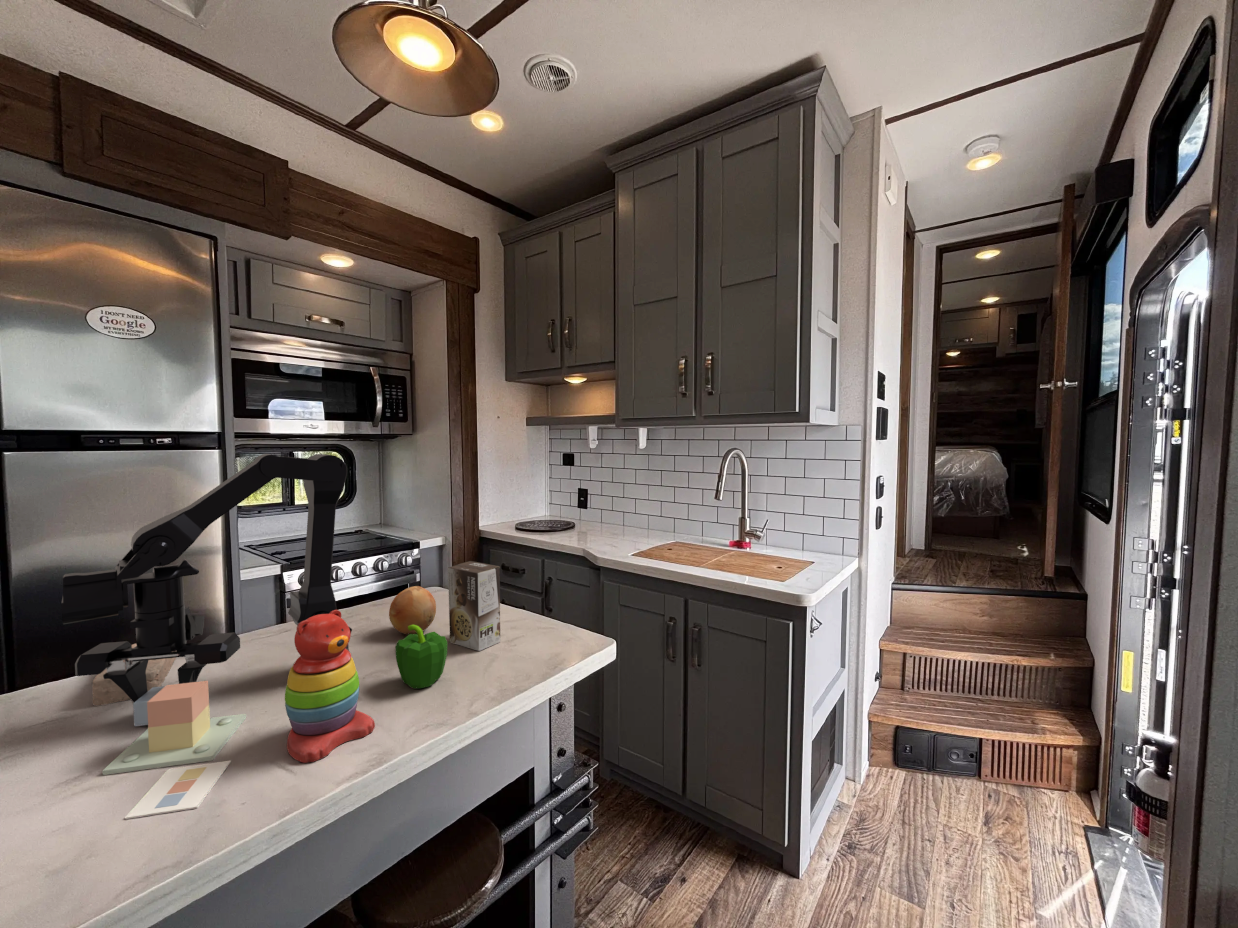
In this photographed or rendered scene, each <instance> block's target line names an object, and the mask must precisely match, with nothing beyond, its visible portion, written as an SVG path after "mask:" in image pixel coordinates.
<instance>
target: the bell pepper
mask: <svg viewBox="0 0 1238 928" xmlns="http://www.w3.org/2000/svg"><path fill="white" fill-rule="evenodd" d="M408 629H409V630H410V631H412V630H415V631H416V632H417V633H415V634H407V635H406V637H404V638H402V639H398V640H397V642H396V644H395V647H394V648H395V660H396V664H397V667H398V668H397V669H398V672H399V675H400V678H401V680H402V682H403V683H404V684H405V685H408V687H410V688H411V689H424V688H428V687H431V686H432V685H433V684H435V683H436V681H437V680H439V679H440V678H441V676H442V675H443V673H444V670H445V665H446V661H447V656H448V640H447V639H446V636H444V635H440V634H439V633H437V631H431V632H427V633H425V634H424V630H423V631H422V629H421V628H420V627H419V626H417V625H410V626H408Z"/></svg>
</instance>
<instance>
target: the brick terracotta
mask: <svg viewBox="0 0 1238 928" xmlns="http://www.w3.org/2000/svg"><path fill="white" fill-rule="evenodd" d="M164 686H165V687H164V688H163V689H162V690H161V691H159V692H158V693H157V694H156V695H155V696H154V697H153V698H151V699H150V700H149V701H148V702H147V711H148V725H147V729H148V728H149V727H157V726H165V725H173V724H181V723H189V722H193V721H194V720H195V719H196V718H197V717H198V716H199V714H200V713H201V712H202V711H203V710H204V709H205V708H206V707H207V706H208V705H209V706H210V697H209V695H210V694H209V680H202V681H196V682H191V683H182V684H179V683H175V684H166V685H164Z"/></svg>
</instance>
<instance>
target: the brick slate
mask: <svg viewBox="0 0 1238 928" xmlns="http://www.w3.org/2000/svg"><path fill="white" fill-rule="evenodd" d="M165 686H166V685H161V687H153V688H151V689H150V690H149V691H148V692H146V693H145V694H144V695H143V696H142V697H140V698H139V699H138V700H137V701H135V702H132V705H133V706H132V707H133V725H134V727H140V726H148V711H147V702H148V701H149V700H150V699H151V698H153V697H154V696H155V695H156V694H157V693H158V692H159V691H161V690H162V689H163V688H164V687H165Z"/></svg>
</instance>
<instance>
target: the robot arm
mask: <svg viewBox="0 0 1238 928" xmlns="http://www.w3.org/2000/svg"><path fill="white" fill-rule="evenodd" d="M347 476H348V465H347V463H346V462H345V461H343V459H342V458H340V457H339V456H337V455H332V454H325V453H324V454H323V453H316V454H315V453H314V454H313V455H311V456H309V457H308V458H304V457H292V456H283V455H282V456H281V455H277V454H270V453H263V454H262V453H261V454H260V455H258V456H257V457H255V459H254V460H253V461H252V462H251V463H249V464H248V465H246V466H244V467H243V468H242V469H240V470H239V471H238V472H236V473H234V474H233V475H231V476H230V477H229V478H227V479H226V480H224V481H223V482H222V483H220V484H219V485H217V486H216V487H214V488H213V489H211V490H210V491H208V492H206V493H205V494H204V495H202V496H201V497H200V498H198V499H197V500H195V501H193V502H192V503H190V505H188V506H186V507H184V508H181V509H179V510H177V511H174V512H171V513H169V514H166V515H165V516H162V517H161V518H158V519H156V520H154V521H152V522H150V523H148V524H146V525H144V526H142V527H140V528H139V529H138V530H137V531H135V533H133V536H131V537H132V538H131V542H130V546H131V548H130V549H129V551H127V553H126V554H125V555H124V556H123V557H122V559H120V560H118V563H117V564H116V565H115V567H114V568H113V569H107V570H106V569H104V570H96V571H91V572H71V573H65V574H64V575H62V599H61V603H60V605H61V608H60V609H61V619H62V620H61V621H62V624H63V625H68V624H73V623H74V624H75V623H80V622H86V621H90V620H97V619H104V618H109V617H115V616H119V612H120V611H124V608H127V607H129V590H128V585H132V584H133V597H134V600H133V601H134V619H132V620H131V621H129V628H130V630H131V629H132V630H133V629H135V634H136V635H135V639H136V644H137V646H136V647H134V648H132V645H133V644H132V643H131V642H130V641H127V640H125V641H124V640H123V641H116V642H113V641H112V642H101V643H99V644H98V645H95V646H94V647H92V648H90V649H88V650H87V651H85V652H83V653H82V654H80V655H79V656H78V657H77V659H76V661H75V663H74V672H75V673H74V674H75V676H77V677H82V676H83V677H84V676H93V675H95V676H97V675H98V674H100V673H102V672H103V671H104V670H105V669H106V668H107V673H106V674H104V675H103V678H104V679H111V680H112V681H113V682H114V683H115V684H117V685H118V686H119V687H120V688H121V689H122V690H123V691H124V692H125V693H126V694H127V695H128V696H129V698H130V699H131V701H132V703H134V702H135V701H137V700H138V699H139V698H140V697H142V696H143V695H144V694H145V693H146V692H148V691H147V681H146V668H147V664H148V660H154V659H166V658H176V659H177V658H184V660H185V662H184V664H182V665H181V666H179V667H178V668H177V679H178V684H182V683H191V682H198V681H197V680H198V678H199V676H200V674H201V672H202V670H203V668H205V667H206V666H207V665H211V664H212V665H213V664H221V663H224V662H227V661H228V660H229V659H231V657H232V656H234V654H235V653H236V652H238V651H239V650H240V649H241V638H240V636H239V635H238V634H237V633H236V632H223V633H222V632H221V633H212V634H209V635H208V636H206V637H205V638H204V639H203V640H202V641H201V642H190V643H189V642H188V641H192V640H194V638H196V637H198V636H203V634H204V632H203V631H204V626H205V617H206V616H205V615H199V614H198V615H193V614H191V609H190V607H189V606H185V584H184V577H189V576H194V575H199V573H200V570H199V568H198V567H197V566H196V565H194V564H192V563H190V562H189V561H188V560H187V559H186V558H185V557H183V558H181V559H180V561H179V562H177V563H176V564H172V563H173V562H175V561H177V559H179V558H180V557H181V556H182V555H183V554H184V553H185V552H186V551H187V550H188V549H189V548H190V547H191V546H192V545H193V544H194V543H195V541H196V540H198V539H199V537H200V536H201V534H202V533H203V532H204V531H205V530H206V529H207V528H208V527H209V526H210V525H211V524H212V523H214V522H215V521H217V520H218V519H220V518H221V517H222V516H223V515H225V514H227V513H228V512H229V511H230V510H232V509H234V508H235V507H236V506H238V505H239V504H240V503H242V502H243V501H245V500H246V499H248V498H249V497H250V496H251V495H254V494H255V492H257V491H259V490H260V489H261V488H263V487H264V486H265V485H267V484H268V483H270V482H271V481H272V480H275V479H290V480H299V481H300V480H302V485H303V488H304V492H305V495H306V499H307V505H308V506H307V507H308V509H307V521H306V522H307V525H306V538H305V539H306V540H305V551H304V553H305V554H304V567H303V568H304V571H303V580H302V584H301V586H300V588H299V590H298V591H290V592H289V598H290V607H289V610H288V612H287V615H289V616H290V617H291V618H292V621H293V622H294V624H295V626H297V625H298V624H299V623H300V622H302V621H305V620H306V619H308V618H310V617H312V616H315V615H320V614H329V613H330V612H331V611H333V610H338V609H337V600H336V597H335V593H334V590H333V586H332V572H333V571H332V567H333V558H334V557H333V554H334V553H333V552H334V541H335V540H334V539H335V523H336V512H337V511H336V510H337V509H336V508H337V504H338V502H339V500H340V498H341V496H342V494H343V491H344V487H345V485H346V480H347V478H348V477H347ZM170 564H171V565H170ZM151 569H152V572H148V571H150V570H151ZM146 572H148V573H146ZM348 627H349V629H350V633H351V634H352V631H353V629H352V627H350V626H349V625H348ZM187 642H188V643H187ZM349 647H350V645H349V644H348V645H347V647H346V648H345V649H347V650H348V651H349V650H350V649H349ZM172 651H174V652H172ZM349 652H350V651H349Z"/></svg>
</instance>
